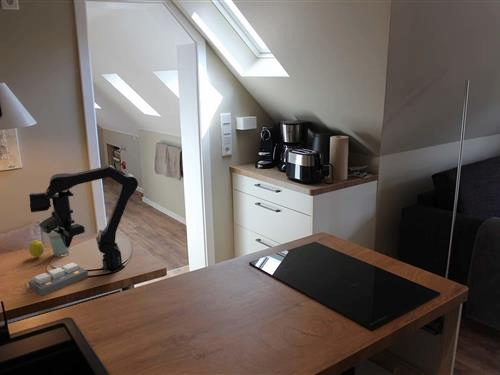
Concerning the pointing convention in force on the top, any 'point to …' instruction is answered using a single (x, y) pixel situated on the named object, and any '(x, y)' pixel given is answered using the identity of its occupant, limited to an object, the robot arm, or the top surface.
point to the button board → (58, 281)
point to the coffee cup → (57, 244)
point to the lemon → (36, 248)
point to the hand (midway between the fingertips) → (67, 247)
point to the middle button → (56, 273)
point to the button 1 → (42, 278)
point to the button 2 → (70, 267)
